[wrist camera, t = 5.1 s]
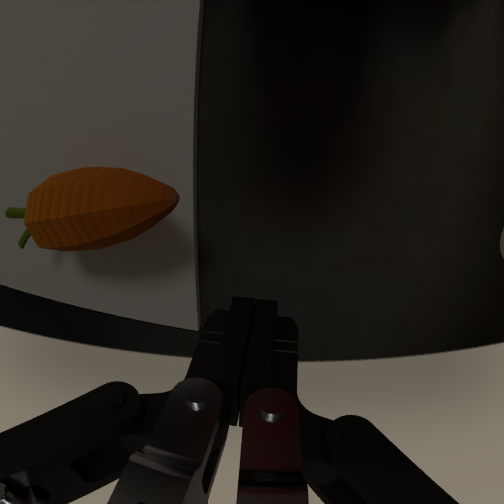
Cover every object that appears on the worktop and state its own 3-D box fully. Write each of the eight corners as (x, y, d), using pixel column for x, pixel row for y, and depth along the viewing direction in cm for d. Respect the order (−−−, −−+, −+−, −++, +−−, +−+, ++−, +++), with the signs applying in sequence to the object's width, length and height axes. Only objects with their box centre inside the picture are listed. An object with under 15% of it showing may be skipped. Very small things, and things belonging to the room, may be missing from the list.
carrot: (131, 142, 10) (-6, 193, 16) (151, 272, 12) (7, 260, 18) (201, 141, 15) (46, 181, 21) (213, 238, 16) (56, 241, 22)
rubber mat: (211, -69, 11) (208, -74, 10) (200, 324, 24) (198, 330, 24) (-31, 21, 12) (-36, 21, 12) (-1, 278, 26) (-5, 282, 25)
